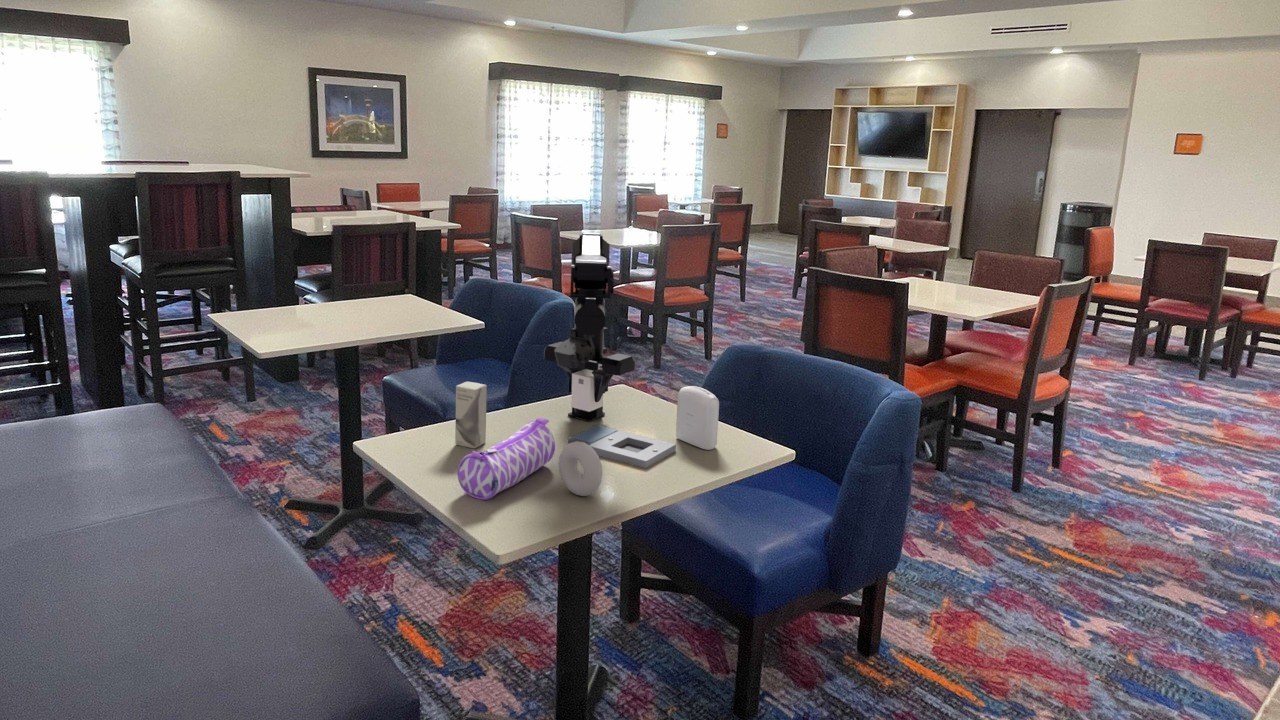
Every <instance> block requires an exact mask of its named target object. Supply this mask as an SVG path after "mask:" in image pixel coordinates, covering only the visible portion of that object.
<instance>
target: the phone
mask: <svg viewBox="0 0 1280 720" xmlns="http://www.w3.org/2000/svg"><path fill="white" fill-rule="evenodd" d="M618 431H620V429H616V428H613V427H607V426H605V425H600V424H596V425H594V426H592V427H590V428H587V429H586V430H584V431H583V430H582V431H581V432H579V433H576V434H574V435H572V436H570V437H568V439H567V442H568V443H572V442H575V441H579V442H584V443H586V444H588V445H590V444H593V443H595V442H597V441H599V440H601V439H603V438H605V437H607V436H609V435H611V434H613V433H615V432H618Z"/></svg>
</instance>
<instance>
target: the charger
mask: <svg viewBox="0 0 1280 720" xmlns="http://www.w3.org/2000/svg"><path fill="white" fill-rule="evenodd" d="M602 406H603V407H604V394H603V395H602V397H601V399H600V401H599V402H595V377H594V376H593V374H592V370H588V369H584V370H581V371H578V372H575V373H572V392H571V408H572V407H573V408H577V409H581V410H585V411H588V412H590V411H592V410H595V409H597V408H600V407H602Z"/></svg>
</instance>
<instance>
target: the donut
mask: <svg viewBox="0 0 1280 720" xmlns="http://www.w3.org/2000/svg"><path fill="white" fill-rule="evenodd" d="M558 461H559V462H558V470H559V473H560V474H559V475H560V477H561V480H562V482H563V484H564V485H565V487H566V488H567V489H568V490H569V491H570V493H573V494H575V495H576V496H581V497H586V496H591V495H592V494H594V493H595V492H596V491H597V490H598V489H599V487H600V485H601V483H602V479H603V466H602V462H601V459H600V456H599V455H597V453H596V452H595V451H594V449H593V448H592V447H591V446H589V445H588V444H586V443H584V442H579V441H575V442H572V443H571V442H568V444H567V445H566V446H565V447H563V449H562V451H561V452H560V454H559V459H558ZM578 462H579V463H580V465H581V466H582V469H583V476H582V475H581V474H580V472H579V469H578Z"/></svg>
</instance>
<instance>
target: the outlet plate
mask: <svg viewBox="0 0 1280 720" xmlns="http://www.w3.org/2000/svg"><path fill="white" fill-rule="evenodd" d="M619 430H620V429H619ZM589 446H591V447H592V448H593V449H594V451H595V452H596V453H597V455H598V457H604V458H608V459H611V460H614V461H618V462H621V463H625V464H629V465H633V466H636V467H640V468H642V469H643V468H644V469H647V468H649V467H650V466H652V465H654V464H655V463H658V462H660V461H661V460H662V459H665V458H667V456H670V455H671V454H674V453H675V452H676V451H677V444H676V443H672V442H669V441H665V440H660V439H658V438H657V439H656V438H652V437H648V436H645V435H641V434H636V433H632V432H628V431H625V430H620V431H618V432H615V433H613V434H611V435H609V436H607V437H605V438H603V439H601V440H599V441H597V442H595V443H593V444H590V445H589Z"/></svg>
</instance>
